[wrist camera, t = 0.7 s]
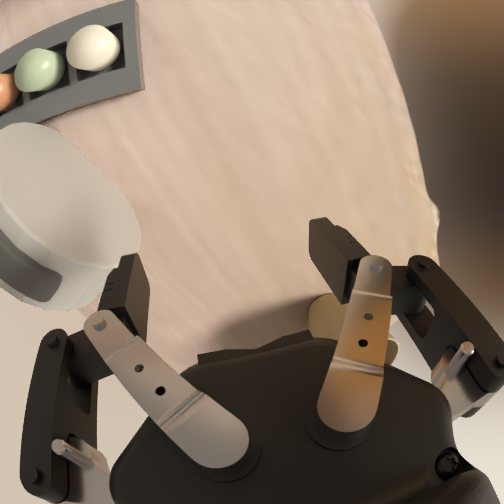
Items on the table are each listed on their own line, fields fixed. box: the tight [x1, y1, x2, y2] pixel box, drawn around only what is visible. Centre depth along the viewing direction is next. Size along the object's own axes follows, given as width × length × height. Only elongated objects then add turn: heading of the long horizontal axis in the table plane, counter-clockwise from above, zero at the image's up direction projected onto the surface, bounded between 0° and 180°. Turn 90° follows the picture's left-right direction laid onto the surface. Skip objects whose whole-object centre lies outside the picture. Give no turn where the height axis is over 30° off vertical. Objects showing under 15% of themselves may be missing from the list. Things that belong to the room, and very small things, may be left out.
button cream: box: [66, 25, 120, 72], centre depth 20 cm, size 5×5×4 cm
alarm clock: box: [0, 122, 141, 311], centre depth 24 cm, size 21×8×20 cm, turn 38°
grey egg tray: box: [0, 0, 145, 130], centre depth 22 cm, size 12×23×3 cm, turn 94°
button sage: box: [14, 48, 66, 92], centre depth 19 cm, size 5×5×4 cm
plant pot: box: [308, 293, 400, 365], centre depth 47 cm, size 15×15×16 cm
